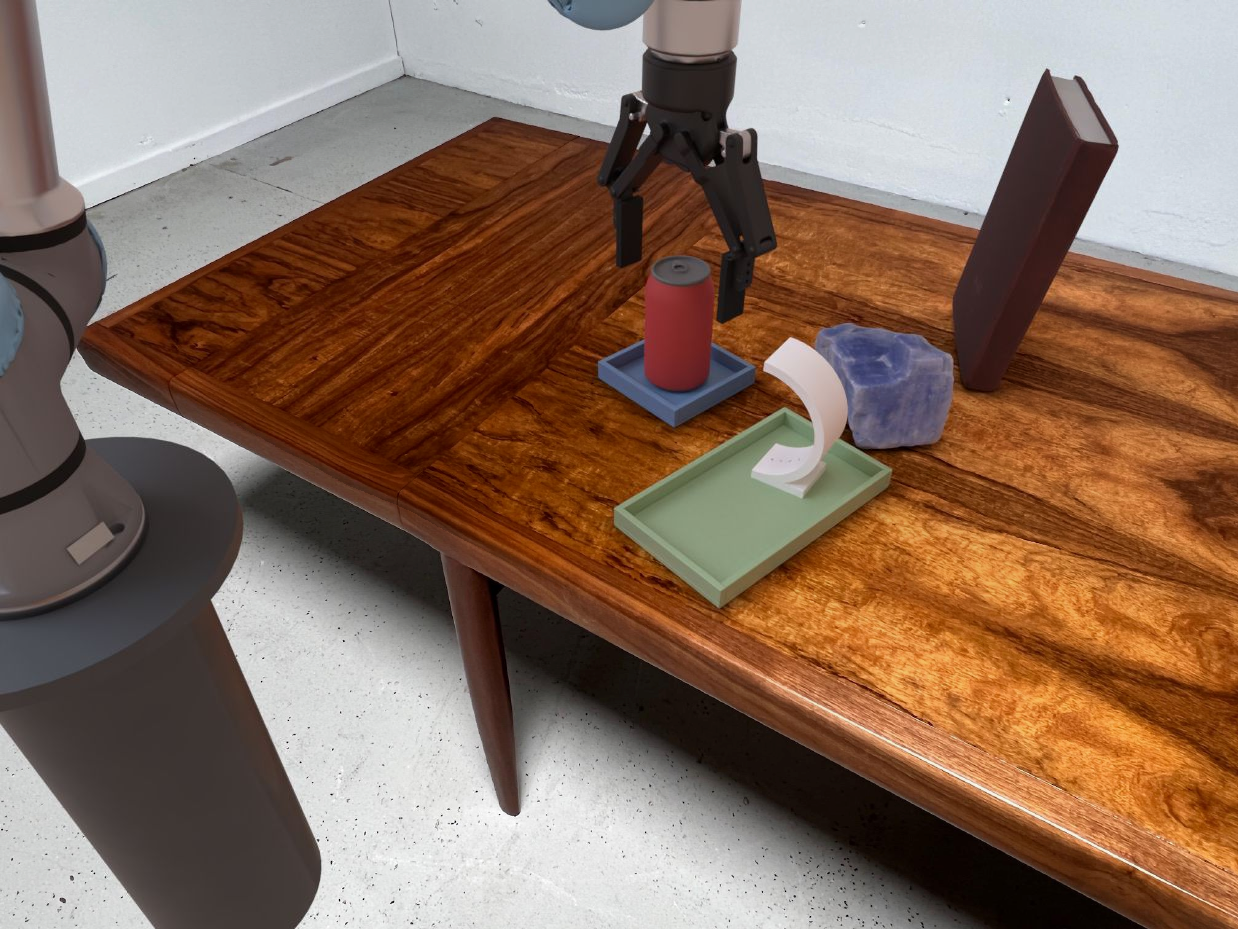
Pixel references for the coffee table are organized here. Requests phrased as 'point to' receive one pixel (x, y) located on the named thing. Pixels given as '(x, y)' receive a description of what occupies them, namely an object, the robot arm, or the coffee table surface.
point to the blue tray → (668, 405)
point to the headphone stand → (826, 410)
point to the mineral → (889, 384)
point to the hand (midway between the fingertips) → (676, 289)
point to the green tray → (745, 508)
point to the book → (1030, 225)
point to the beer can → (678, 323)
